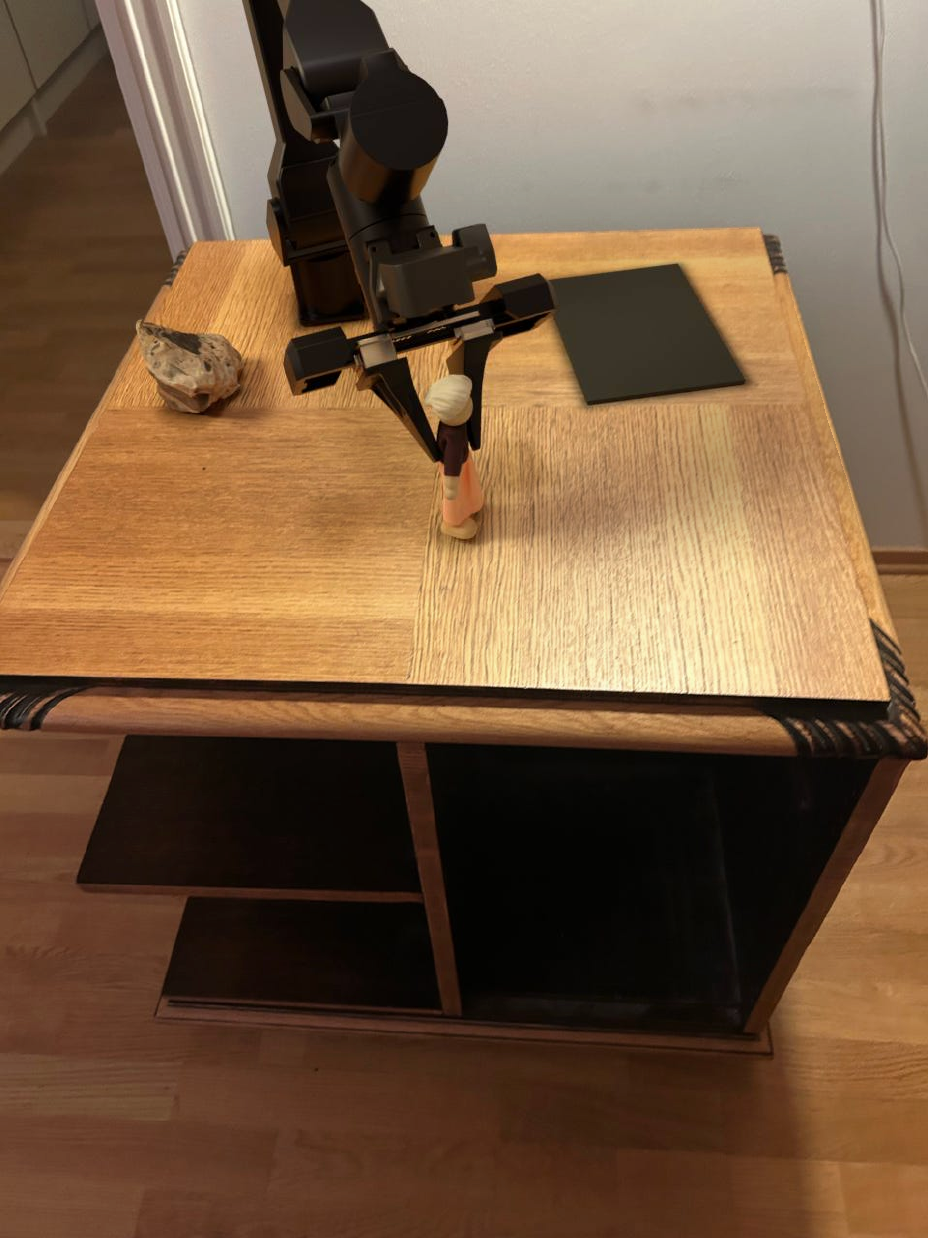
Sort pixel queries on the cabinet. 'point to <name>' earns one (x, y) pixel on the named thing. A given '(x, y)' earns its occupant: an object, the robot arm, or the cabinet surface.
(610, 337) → the mat
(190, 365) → the rock
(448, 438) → the grandmother figurine
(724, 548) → the cabinet surface
